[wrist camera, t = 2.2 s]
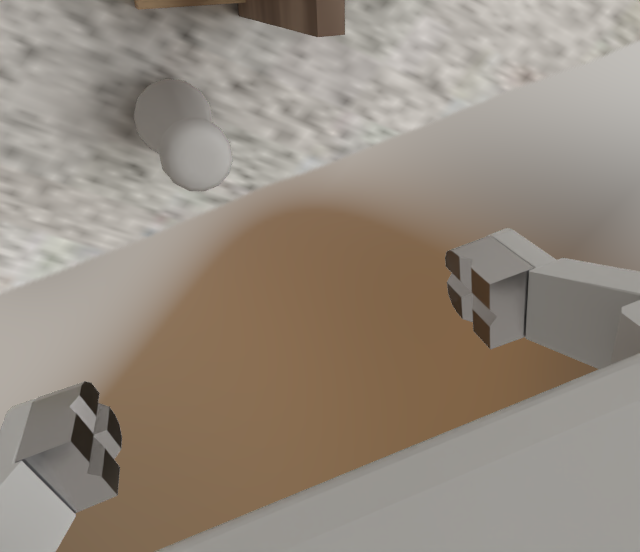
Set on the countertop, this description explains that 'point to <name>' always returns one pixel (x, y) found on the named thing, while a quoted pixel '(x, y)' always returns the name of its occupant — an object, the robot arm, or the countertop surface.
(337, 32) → the cleat board
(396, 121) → the countertop surface
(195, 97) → the salt shaker
